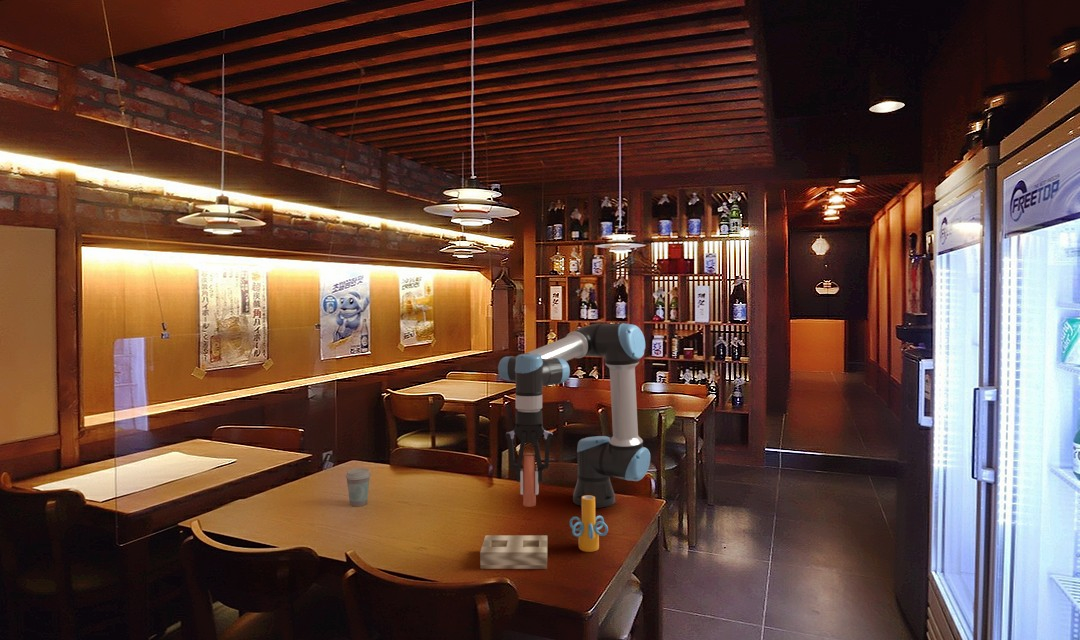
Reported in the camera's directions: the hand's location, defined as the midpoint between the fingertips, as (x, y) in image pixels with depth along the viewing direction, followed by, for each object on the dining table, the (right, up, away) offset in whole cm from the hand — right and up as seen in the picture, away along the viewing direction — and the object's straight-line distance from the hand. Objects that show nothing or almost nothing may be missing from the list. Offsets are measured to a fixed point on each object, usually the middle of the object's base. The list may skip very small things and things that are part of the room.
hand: (529, 492), depth 170 cm
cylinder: (+17, -19, +8) cm, 27 cm away
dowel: (0, -3, 0) cm, 3 cm away
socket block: (-4, -19, 0) cm, 19 cm away
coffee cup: (-63, -18, +49) cm, 82 cm away
